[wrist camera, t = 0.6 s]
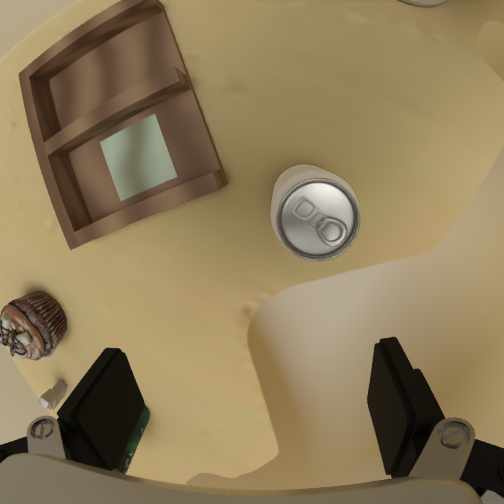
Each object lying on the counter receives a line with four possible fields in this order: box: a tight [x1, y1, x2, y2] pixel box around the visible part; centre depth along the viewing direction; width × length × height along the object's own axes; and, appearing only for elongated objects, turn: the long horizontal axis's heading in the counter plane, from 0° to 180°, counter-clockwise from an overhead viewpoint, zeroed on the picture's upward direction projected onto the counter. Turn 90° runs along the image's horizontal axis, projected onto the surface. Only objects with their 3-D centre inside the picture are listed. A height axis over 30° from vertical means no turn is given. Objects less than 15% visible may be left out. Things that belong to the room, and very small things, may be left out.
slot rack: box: [19, 0, 228, 250], centre depth 28 cm, size 18×23×5 cm
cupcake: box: [0, 291, 67, 360], centre depth 35 cm, size 10×10×10 cm
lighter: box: [39, 380, 67, 410], centre depth 41 cm, size 7×2×8 cm, turn 147°
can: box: [271, 164, 360, 261], centre depth 26 cm, size 6×6×12 cm
